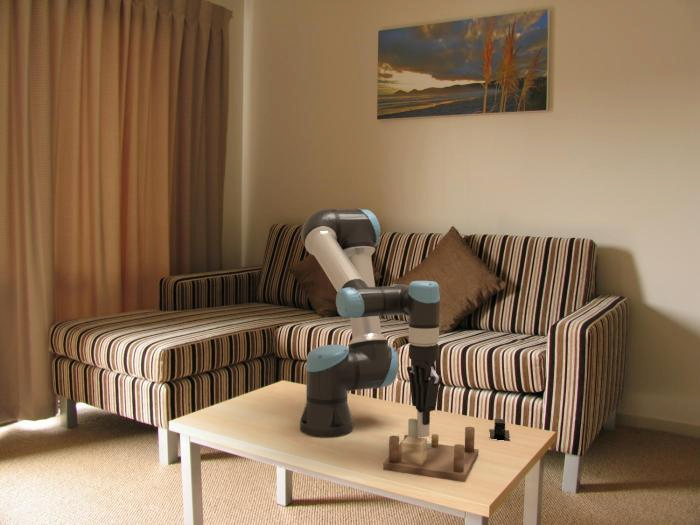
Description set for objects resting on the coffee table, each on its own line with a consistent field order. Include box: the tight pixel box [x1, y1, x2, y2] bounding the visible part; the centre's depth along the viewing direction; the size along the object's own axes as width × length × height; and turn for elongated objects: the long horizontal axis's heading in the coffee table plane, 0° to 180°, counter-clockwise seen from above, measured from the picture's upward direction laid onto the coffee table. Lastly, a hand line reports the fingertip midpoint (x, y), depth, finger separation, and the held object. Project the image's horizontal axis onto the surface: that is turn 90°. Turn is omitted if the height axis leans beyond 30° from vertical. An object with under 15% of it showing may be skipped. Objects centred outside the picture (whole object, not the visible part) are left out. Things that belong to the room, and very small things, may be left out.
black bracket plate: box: [488, 418, 511, 442], centre depth 199 cm, size 12×7×5 cm, turn 170°
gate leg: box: [407, 418, 431, 449], centre depth 182 cm, size 6×3×8 cm, turn 121°
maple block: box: [401, 436, 428, 465], centre depth 175 cm, size 5×5×5 cm
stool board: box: [382, 426, 479, 483], centre depth 178 cm, size 20×18×8 cm
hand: (423, 436), depth 179 cm, fingers closed
